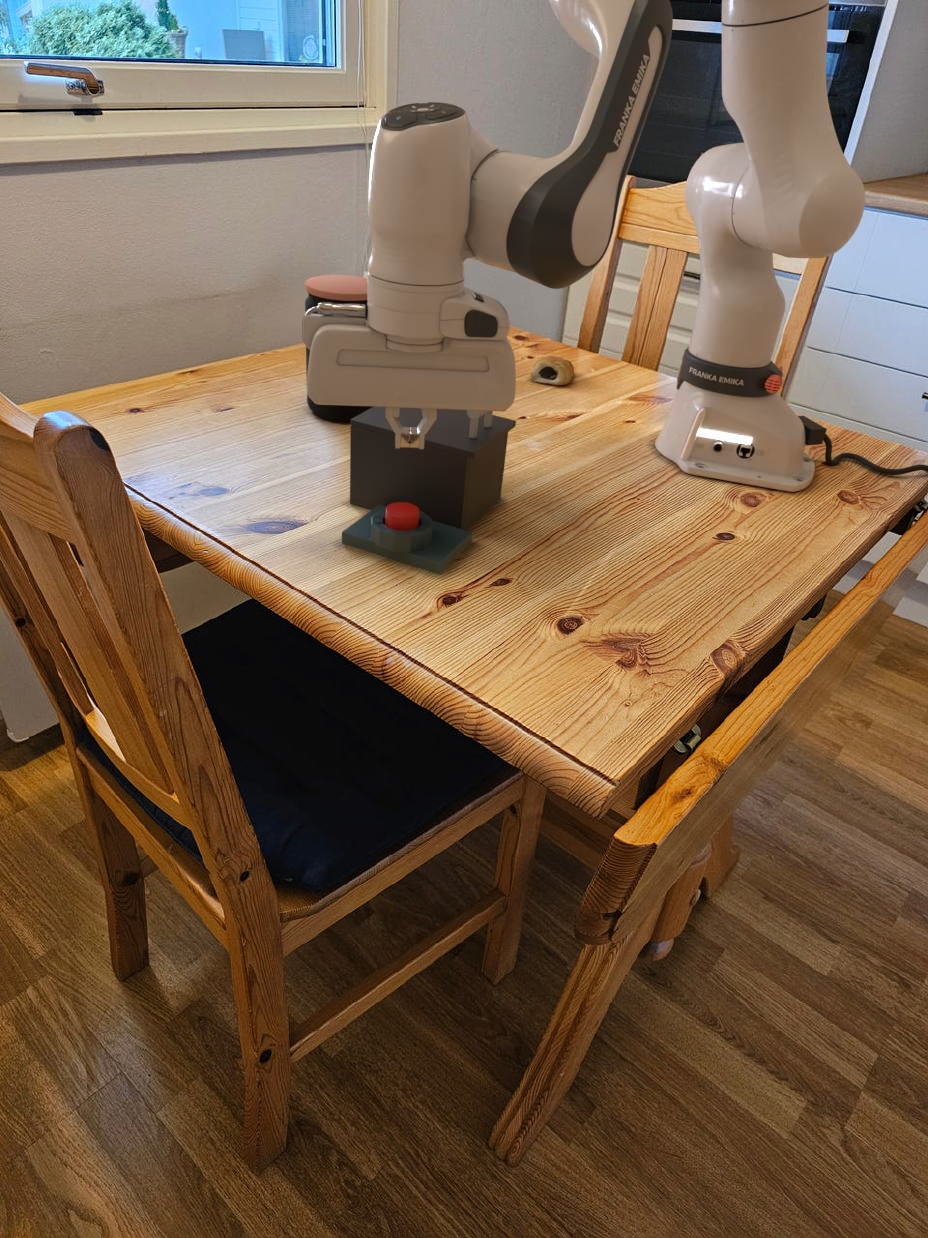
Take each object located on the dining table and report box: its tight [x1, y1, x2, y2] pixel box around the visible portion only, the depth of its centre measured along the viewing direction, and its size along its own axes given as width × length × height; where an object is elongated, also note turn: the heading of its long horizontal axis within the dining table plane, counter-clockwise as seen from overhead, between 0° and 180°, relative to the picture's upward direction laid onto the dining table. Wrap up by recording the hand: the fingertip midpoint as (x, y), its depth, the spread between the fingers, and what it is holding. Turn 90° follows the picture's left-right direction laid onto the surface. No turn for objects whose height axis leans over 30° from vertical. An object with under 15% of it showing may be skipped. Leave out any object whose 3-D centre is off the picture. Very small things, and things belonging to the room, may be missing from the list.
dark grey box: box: [349, 425, 509, 531], centre depth 100 cm, size 15×12×10 cm
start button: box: [385, 502, 420, 531], centre depth 91 cm, size 4×4×2 cm
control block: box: [341, 505, 473, 575], centre depth 93 cm, size 12×9×4 cm
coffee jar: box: [304, 274, 374, 424], centre depth 121 cm, size 11×11×18 cm
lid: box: [349, 406, 517, 459], centre depth 96 cm, size 15×12×4 cm
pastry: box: [530, 355, 575, 386], centre depth 146 cm, size 9×7×4 cm
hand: (409, 446), depth 87 cm, fingers closed
